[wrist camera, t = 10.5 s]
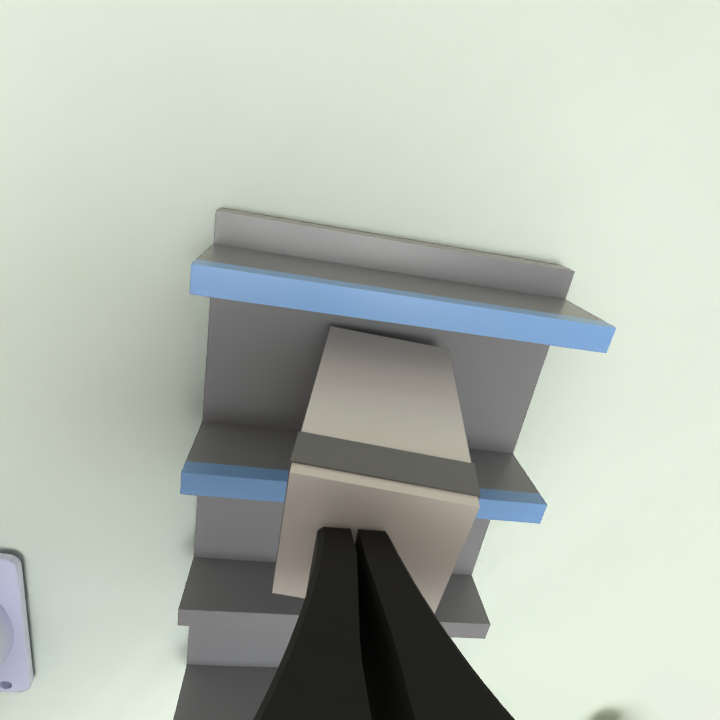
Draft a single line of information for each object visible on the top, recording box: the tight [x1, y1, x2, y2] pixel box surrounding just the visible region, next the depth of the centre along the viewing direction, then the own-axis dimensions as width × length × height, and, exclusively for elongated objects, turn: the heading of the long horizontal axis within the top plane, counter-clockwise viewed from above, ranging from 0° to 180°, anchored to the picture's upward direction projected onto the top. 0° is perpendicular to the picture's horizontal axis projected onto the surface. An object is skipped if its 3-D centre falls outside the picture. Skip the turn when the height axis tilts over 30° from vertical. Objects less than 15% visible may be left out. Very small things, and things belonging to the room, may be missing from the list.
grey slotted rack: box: [173, 208, 616, 720], centre depth 19 cm, size 12×22×4 cm, turn 170°
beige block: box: [272, 326, 481, 614], centre depth 14 cm, size 4×4×7 cm
